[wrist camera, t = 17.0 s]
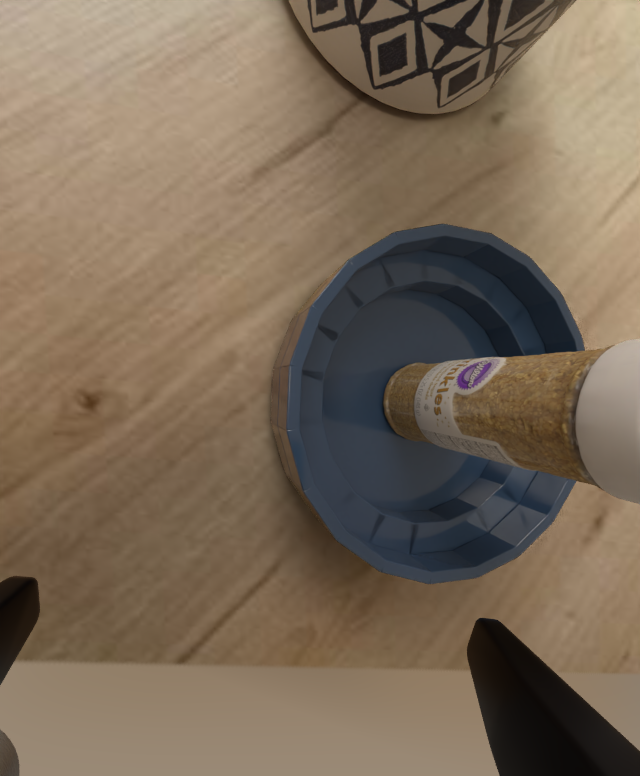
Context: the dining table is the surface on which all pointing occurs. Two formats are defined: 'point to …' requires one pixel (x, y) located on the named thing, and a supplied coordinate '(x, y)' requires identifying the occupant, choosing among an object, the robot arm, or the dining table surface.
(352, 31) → the planter
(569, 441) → the sprinkles bottle
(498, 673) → the robot arm
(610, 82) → the dining table surface
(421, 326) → the bowl
